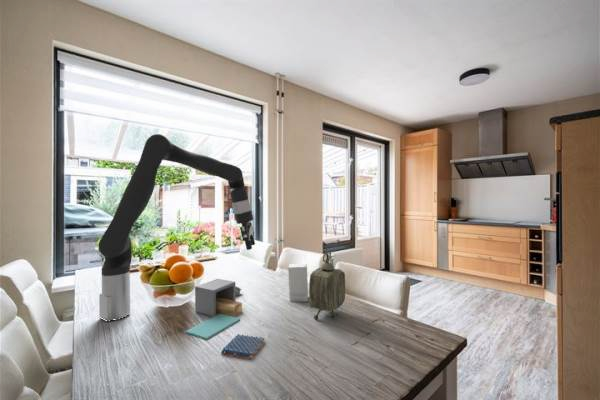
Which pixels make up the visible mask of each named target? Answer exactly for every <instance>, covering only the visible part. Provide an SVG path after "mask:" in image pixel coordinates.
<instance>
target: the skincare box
mask: <svg viewBox="0 0 600 400" xmlns="http://www.w3.org/2000/svg"><path fill="white" fill-rule="evenodd" d="M287 269H288V270H287V271H288V272H287V273H288V291H289V292H288V294H289V302H308V300H309V284H308V283H309V281H308V263H289V265H288V268H287Z"/></svg>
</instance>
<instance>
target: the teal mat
mask: <svg viewBox="0 0 600 400" xmlns="http://www.w3.org/2000/svg"><path fill="white" fill-rule="evenodd" d="M240 321H241V318H239V317H236V316H230V315H226V314H222V313H218V314H216V316H212V317H211V318H209V319H207V320H205V321H202V322H201V323H200V324H197V325H196V326H194V327H190V328H189V329H187V330H185V334H188V335H192V336H195V337H196V338H197V337H198V338H200V339H202V340H203V339H204V340H209V339H210V338H212V337H214V336H216V335H217V334H219V333H221V332H222V331H225V330H226V329H228V328H229V327H230V328H231V326H233V325H235V324H236V323H238V322H240Z"/></svg>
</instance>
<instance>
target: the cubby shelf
mask: <svg viewBox="0 0 600 400" xmlns="http://www.w3.org/2000/svg"><path fill="white" fill-rule="evenodd" d="M235 286H236V281H232V280H228V279H227V280H226V279H223V278H222V279H221V278H215V279H213V280H209V281H207V282H205V283H201V284H199V285H195V286H194V303H195V304H194V306H195V308H194V310H195V312H196V313H199V314H204V315H206V316H210V317H215V316H217V312H216V297H219V298H223V299H228V300H232V301H237V300H236V298H237V295H236V291H235Z"/></svg>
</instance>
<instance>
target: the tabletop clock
mask: <svg viewBox="0 0 600 400" xmlns="http://www.w3.org/2000/svg"><path fill="white" fill-rule="evenodd" d="M327 254H329V258H327V257H326V258H325V256H326V255H327ZM322 255H323V256H322V261H323V262H324V263H322V265H321V267H318V268H316V269H315V270H313V271H312V272H311V273H310V277H309V281H308V283H309V284H308V299H309V305H310V308H312V309H316V310H318V311H317V313H316V314H314V317H313V319H314V320H319V314H320V313H321V312H322V311H326V312H331V317H333V318H335V317H336V313H335V312H334V311H335V310H338V309H339V308H340V307H341V306H342V305H343V304H344V302H345V299H346V274H345V272H344V271H343V270H342V269H339V268H335V267H334V265H333V263H330V261H331V259H332V253H331V251H330V250H326V251H325V252H324V253H323V254H322Z"/></svg>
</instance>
